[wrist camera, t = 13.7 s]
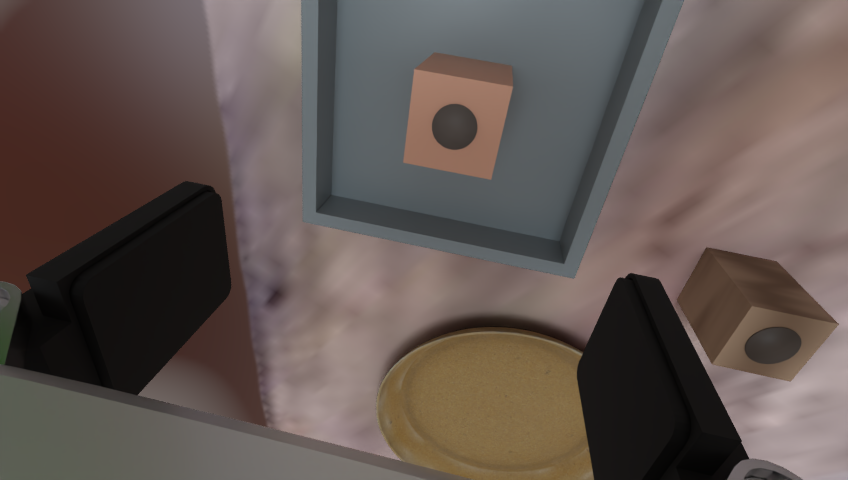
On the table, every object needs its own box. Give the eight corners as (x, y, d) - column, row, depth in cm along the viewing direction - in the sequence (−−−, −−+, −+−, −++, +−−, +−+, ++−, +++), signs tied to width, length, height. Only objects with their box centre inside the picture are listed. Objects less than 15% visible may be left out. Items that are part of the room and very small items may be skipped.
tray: (680, -56, 24) (709, -64, 20) (567, 249, 34) (574, 278, 31) (328, -110, 25) (300, -125, 22) (322, 199, 35) (302, 221, 32)
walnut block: (776, 261, 32) (839, 325, 26) (741, 313, 34) (791, 382, 28) (706, 247, 32) (752, 307, 26) (676, 299, 35) (712, 365, 29)
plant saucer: (648, 315, 36) (660, 342, 33) (610, 487, 48) (616, 519, 45) (369, 302, 40) (358, 325, 38) (396, 462, 52) (390, 489, 49)
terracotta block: (512, 65, 27) (513, 87, 21) (494, 141, 30) (491, 180, 24) (434, 52, 28) (413, 69, 22) (423, 128, 30) (402, 163, 24)
